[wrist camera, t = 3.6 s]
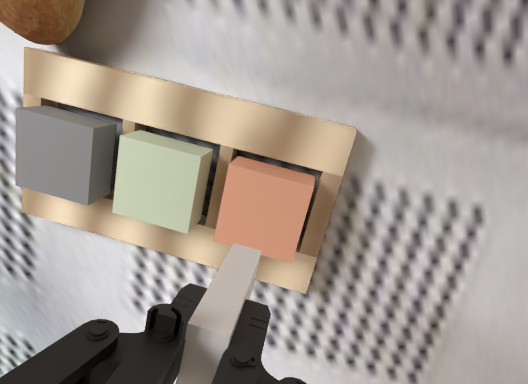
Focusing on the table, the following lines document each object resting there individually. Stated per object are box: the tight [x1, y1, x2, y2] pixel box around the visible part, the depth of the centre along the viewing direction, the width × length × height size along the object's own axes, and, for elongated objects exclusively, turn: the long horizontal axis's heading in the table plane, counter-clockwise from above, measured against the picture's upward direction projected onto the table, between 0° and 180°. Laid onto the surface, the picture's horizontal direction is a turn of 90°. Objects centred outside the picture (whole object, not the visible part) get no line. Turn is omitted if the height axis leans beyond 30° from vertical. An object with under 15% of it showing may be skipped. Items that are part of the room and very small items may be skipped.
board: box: [22, 47, 357, 294], centre depth 29 cm, size 26×14×2 cm, turn 77°
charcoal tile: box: [16, 105, 116, 206], centre depth 28 cm, size 6×6×3 cm
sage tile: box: [112, 130, 214, 234], centre depth 27 cm, size 6×6×3 cm
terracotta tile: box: [213, 156, 315, 263], centre depth 26 cm, size 6×6×3 cm
